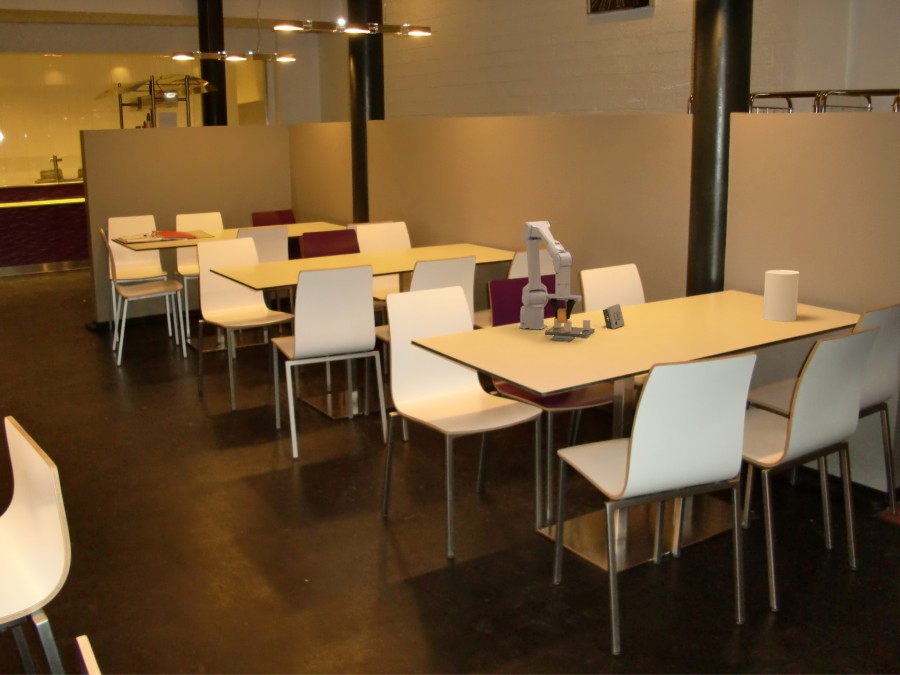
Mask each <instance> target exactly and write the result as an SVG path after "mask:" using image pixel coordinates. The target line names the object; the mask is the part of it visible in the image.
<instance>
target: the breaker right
mask: <svg viewBox="0 0 900 675" xmlns="http://www.w3.org/2000/svg"><path fill="white" fill-rule="evenodd" d="M582 328H583V330H590V328H591V319H587V318H583V320H582Z"/></svg>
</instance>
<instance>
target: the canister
mask: <svg viewBox="0 0 900 675" xmlns="http://www.w3.org/2000/svg"><path fill="white" fill-rule="evenodd" d="M764 273H765V274H764V291H763V306H762V319H763V320H765V321H769V322H770V321H771V322H779V323H780V322H783V323H785V322H787V323H788V322H794V321H797V316H798V315H797V312H798V300H799V299H798V298H799V285H800V284H799V283H800V271H798V270H791V269H768V270H765V272H764Z"/></svg>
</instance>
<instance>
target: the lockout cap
mask: <svg viewBox="0 0 900 675" xmlns="http://www.w3.org/2000/svg"><path fill="white" fill-rule="evenodd" d="M568 320H569V319H567V308H563V307H562V308H559V309H557V322H558V323H562V324H564V323H567V322H568Z"/></svg>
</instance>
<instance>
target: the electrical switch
mask: <svg viewBox="0 0 900 675" xmlns="http://www.w3.org/2000/svg"><path fill="white" fill-rule="evenodd" d="M602 314H603V318H604V322H605V327H606V328H607V329H610V328H611V329H612V330H615V329H618V328H620V327H624V326H625V321H624V316H623V311H622V308H621V304H620V303H617V304H613V305H610V306H607V308H605V309H602Z"/></svg>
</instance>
